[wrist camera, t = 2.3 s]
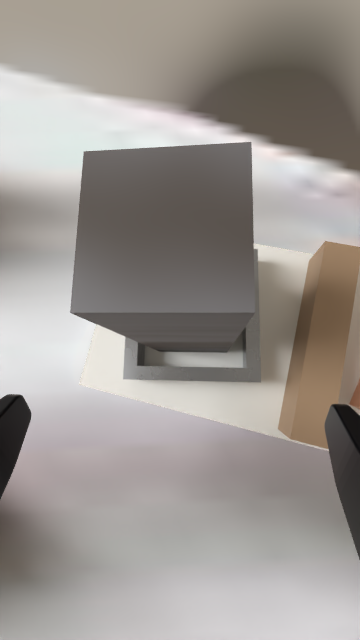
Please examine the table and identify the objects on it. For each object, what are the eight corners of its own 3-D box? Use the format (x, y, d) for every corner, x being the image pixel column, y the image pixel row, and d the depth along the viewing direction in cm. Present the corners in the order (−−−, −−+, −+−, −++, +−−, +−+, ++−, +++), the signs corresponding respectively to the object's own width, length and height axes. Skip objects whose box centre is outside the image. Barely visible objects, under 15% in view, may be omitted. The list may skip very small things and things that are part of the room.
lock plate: (550, 303, 19) (637, 285, 15) (537, 504, 17) (633, 542, 13) (129, 226, 23) (112, 196, 19) (85, 384, 21) (56, 386, 17)
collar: (256, 381, 19) (261, 382, 17) (131, 378, 20) (123, 379, 18) (253, 260, 21) (257, 248, 19) (137, 262, 21) (129, 251, 19)
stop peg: (226, 352, 20) (254, 312, 7) (159, 351, 20) (70, 312, 7) (226, 286, 20) (251, 141, 8) (161, 287, 21) (83, 151, 8)
